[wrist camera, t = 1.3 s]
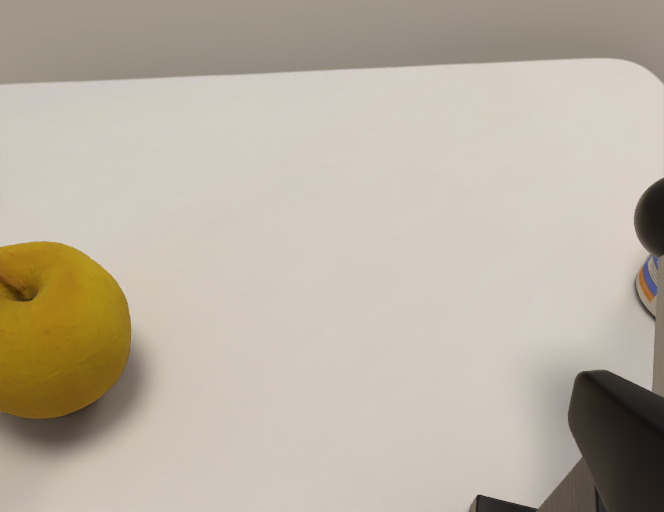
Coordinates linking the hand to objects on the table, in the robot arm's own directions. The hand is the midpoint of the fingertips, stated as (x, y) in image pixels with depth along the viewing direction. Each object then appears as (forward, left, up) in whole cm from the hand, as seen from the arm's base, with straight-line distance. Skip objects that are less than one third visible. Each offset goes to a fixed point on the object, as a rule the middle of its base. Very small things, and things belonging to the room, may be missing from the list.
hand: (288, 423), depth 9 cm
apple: (+13, +3, -16) cm, 21 cm away
